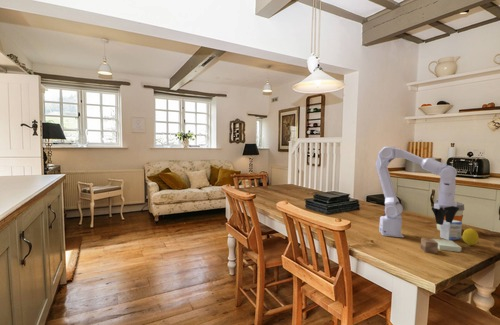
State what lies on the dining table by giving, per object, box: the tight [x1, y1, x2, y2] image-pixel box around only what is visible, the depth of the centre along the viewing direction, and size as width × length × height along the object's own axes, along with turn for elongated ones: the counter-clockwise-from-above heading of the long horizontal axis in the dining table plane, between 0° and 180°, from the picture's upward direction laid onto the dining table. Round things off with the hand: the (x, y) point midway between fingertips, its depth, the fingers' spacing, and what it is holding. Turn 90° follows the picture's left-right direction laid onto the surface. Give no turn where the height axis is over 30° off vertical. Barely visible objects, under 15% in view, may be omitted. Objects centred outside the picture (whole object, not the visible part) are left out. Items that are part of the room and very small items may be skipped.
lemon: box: [461, 227, 480, 247], centre depth 115 cm, size 6×6×8 cm
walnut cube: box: [420, 237, 439, 254], centre depth 109 cm, size 4×4×4 cm
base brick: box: [432, 238, 462, 253], centre depth 113 cm, size 8×8×2 cm
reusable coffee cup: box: [434, 199, 465, 231], centre depth 136 cm, size 12×13×15 cm
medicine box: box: [439, 220, 463, 241], centre depth 124 cm, size 8×4×9 cm, turn 105°
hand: (444, 223), depth 114 cm, fingers open, 7 cm apart
